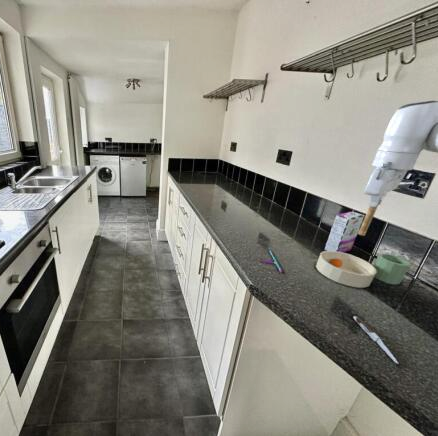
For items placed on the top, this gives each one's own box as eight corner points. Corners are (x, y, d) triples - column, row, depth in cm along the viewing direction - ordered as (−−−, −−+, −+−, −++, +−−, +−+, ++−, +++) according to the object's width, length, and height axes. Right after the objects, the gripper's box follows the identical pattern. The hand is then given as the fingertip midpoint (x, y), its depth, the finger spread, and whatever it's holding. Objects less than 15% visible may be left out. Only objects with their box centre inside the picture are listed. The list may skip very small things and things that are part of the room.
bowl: (375, 279, 80) (382, 266, 78) (360, 295, 72) (367, 281, 70) (325, 259, 91) (330, 247, 89) (307, 270, 83) (312, 257, 81)
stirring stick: (365, 234, 78) (388, 182, 71) (363, 236, 77) (387, 183, 70) (358, 232, 79) (381, 181, 72) (357, 234, 78) (379, 182, 72)
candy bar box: (338, 245, 102) (351, 211, 96) (351, 250, 98) (366, 215, 92) (322, 250, 98) (335, 214, 92) (335, 255, 94) (350, 218, 88)
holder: (402, 280, 80) (412, 261, 76) (396, 288, 76) (407, 268, 72) (373, 269, 85) (382, 251, 82) (366, 276, 81) (375, 256, 78)
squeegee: (257, 248, 95) (270, 250, 94) (257, 250, 96) (270, 252, 95) (267, 269, 81) (282, 271, 80) (266, 271, 82) (281, 273, 81)
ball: (342, 267, 85) (345, 260, 83) (338, 270, 83) (341, 262, 82) (332, 263, 87) (334, 256, 86) (328, 265, 85) (331, 258, 84)
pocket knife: (351, 318, 63) (354, 313, 62) (354, 319, 63) (357, 313, 62) (394, 367, 50) (398, 360, 50) (398, 367, 50) (403, 361, 50)
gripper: (399, 165, 61) (377, 214, 66) (415, 161, 72) (395, 203, 77) (368, 162, 66) (350, 207, 71) (388, 158, 77) (371, 198, 82)
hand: (374, 205), depth 74 cm, fingers closed on stirring stick, 2 cm apart
